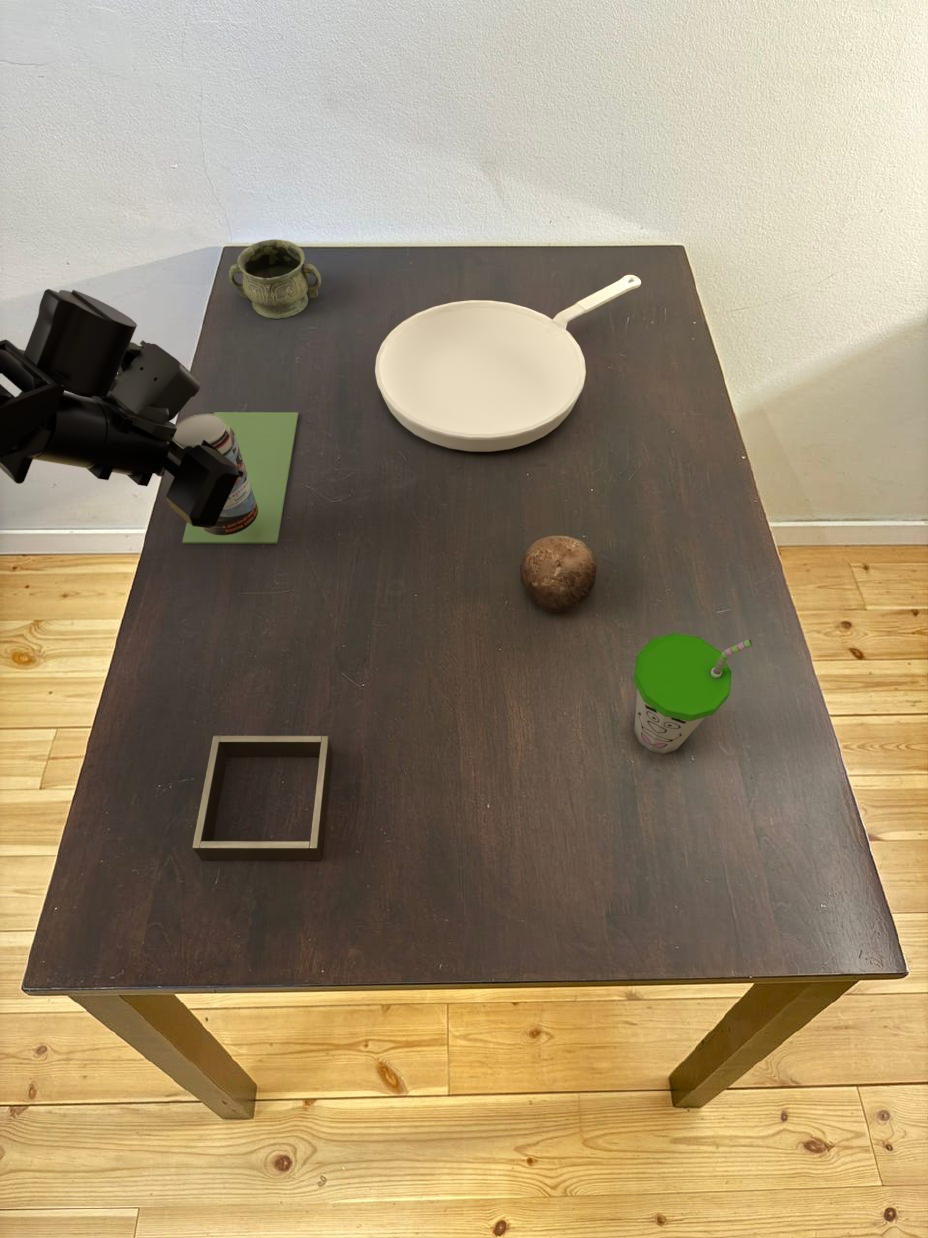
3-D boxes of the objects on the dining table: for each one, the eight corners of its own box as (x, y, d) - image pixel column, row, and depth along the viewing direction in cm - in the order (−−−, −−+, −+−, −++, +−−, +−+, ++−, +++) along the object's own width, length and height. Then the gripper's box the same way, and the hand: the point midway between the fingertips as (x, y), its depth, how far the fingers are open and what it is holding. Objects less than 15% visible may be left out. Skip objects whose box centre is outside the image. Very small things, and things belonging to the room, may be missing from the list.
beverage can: (225, 553, 85) (199, 469, 76) (181, 515, 88) (150, 428, 78) (274, 520, 88) (254, 434, 78) (229, 483, 91) (205, 396, 81)
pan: (337, 377, 105) (332, 347, 101) (568, 263, 118) (571, 233, 115) (463, 494, 94) (464, 465, 90) (702, 353, 107) (710, 324, 104)
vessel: (327, 282, 116) (321, 238, 111) (320, 322, 111) (314, 279, 106) (240, 281, 116) (230, 238, 111) (229, 321, 111) (218, 278, 106)
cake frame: (201, 860, 70) (191, 848, 68) (221, 750, 76) (213, 735, 73) (321, 860, 70) (316, 848, 68) (332, 750, 76) (328, 735, 73)
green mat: (182, 543, 90) (182, 541, 89) (214, 413, 101) (214, 411, 101) (277, 543, 90) (276, 541, 89) (298, 414, 101) (298, 412, 101)
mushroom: (602, 533, 86) (581, 518, 81) (614, 609, 84) (593, 600, 79) (531, 551, 90) (506, 538, 84) (540, 624, 88) (515, 616, 82)
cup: (601, 744, 76) (628, 656, 64) (637, 680, 80) (669, 585, 68) (682, 786, 74) (726, 703, 62) (715, 718, 78) (763, 626, 65)
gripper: (191, 396, 64) (320, 433, 78) (57, 294, 71) (196, 344, 85) (135, 523, 67) (269, 537, 81) (11, 412, 74) (153, 443, 88)
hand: (221, 460), depth 84 cm, fingers closed on beverage can, 6 cm apart
